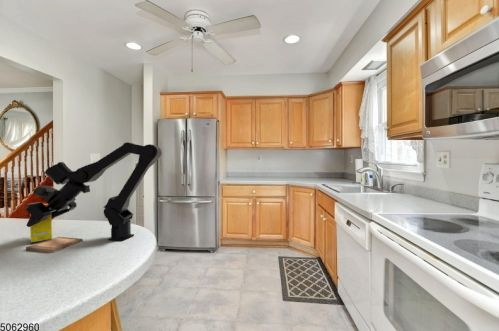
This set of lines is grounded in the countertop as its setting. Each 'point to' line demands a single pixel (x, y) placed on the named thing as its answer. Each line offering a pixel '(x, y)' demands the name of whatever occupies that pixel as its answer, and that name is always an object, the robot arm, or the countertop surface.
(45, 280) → the countertop surface
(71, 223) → the countertop surface
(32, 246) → the marked board
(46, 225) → the supplement box
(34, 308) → the countertop surface
